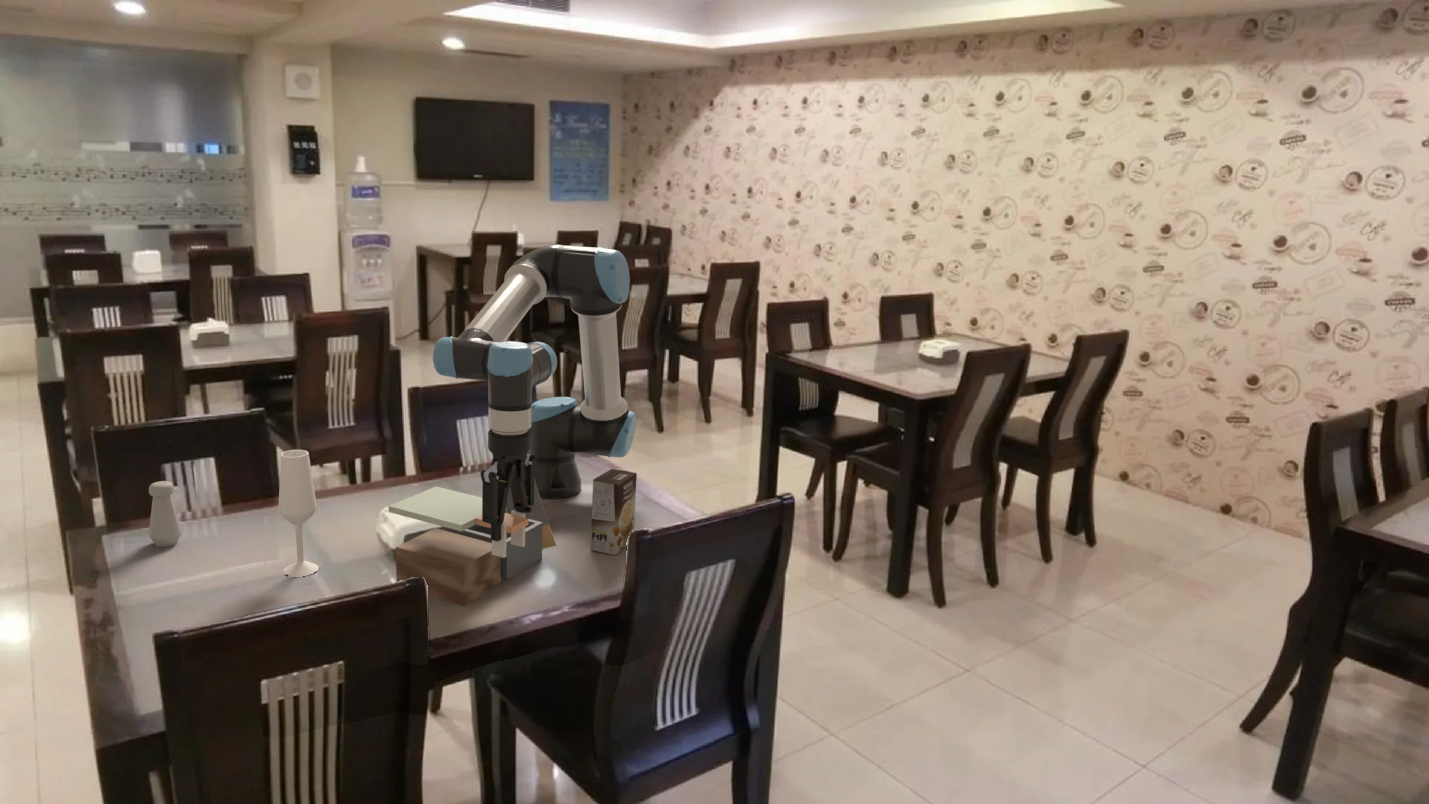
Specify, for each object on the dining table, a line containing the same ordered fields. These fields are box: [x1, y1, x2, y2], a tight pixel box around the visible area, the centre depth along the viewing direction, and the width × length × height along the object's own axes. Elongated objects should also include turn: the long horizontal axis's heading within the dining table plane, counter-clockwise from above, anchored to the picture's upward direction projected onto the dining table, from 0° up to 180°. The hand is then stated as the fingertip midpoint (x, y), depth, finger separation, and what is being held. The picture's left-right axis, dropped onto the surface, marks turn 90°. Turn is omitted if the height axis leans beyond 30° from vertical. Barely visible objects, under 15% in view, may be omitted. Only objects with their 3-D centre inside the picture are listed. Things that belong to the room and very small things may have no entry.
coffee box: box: [589, 468, 638, 556], centre depth 198 cm, size 9×6×16 cm
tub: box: [441, 519, 543, 580], centre depth 188 cm, size 12×16×8 cm
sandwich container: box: [500, 479, 557, 550], centre depth 199 cm, size 9×15×15 cm, turn 35°
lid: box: [388, 486, 528, 534], centre depth 171 cm, size 13×25×1 cm, turn 66°
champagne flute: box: [278, 449, 320, 578], centre depth 176 cm, size 7×7×24 cm
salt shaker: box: [148, 480, 183, 548], centre depth 185 cm, size 6×6×13 cm
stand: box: [395, 527, 502, 607], centre depth 176 cm, size 11×16×8 cm
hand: (508, 549), depth 169 cm, fingers closed on lid, 5 cm apart
